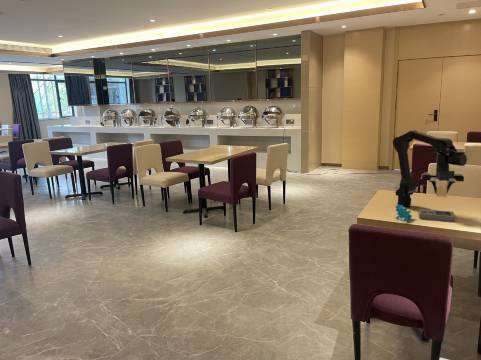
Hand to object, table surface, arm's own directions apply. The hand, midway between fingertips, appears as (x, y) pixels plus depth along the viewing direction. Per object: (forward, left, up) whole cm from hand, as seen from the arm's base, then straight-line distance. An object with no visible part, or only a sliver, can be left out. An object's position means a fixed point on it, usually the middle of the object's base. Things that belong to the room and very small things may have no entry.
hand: (440, 193), depth 190 cm
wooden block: (0, 0, -1) cm, 1 cm away
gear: (-17, -13, -12) cm, 25 cm away
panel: (-2, -5, -12) cm, 13 cm away
